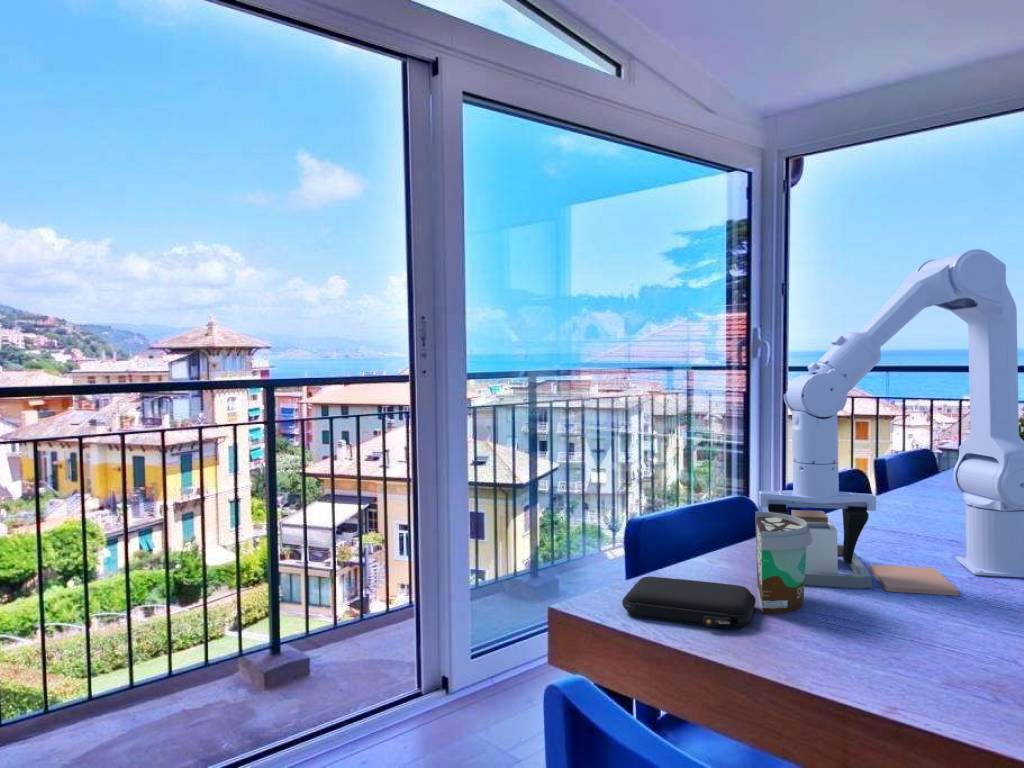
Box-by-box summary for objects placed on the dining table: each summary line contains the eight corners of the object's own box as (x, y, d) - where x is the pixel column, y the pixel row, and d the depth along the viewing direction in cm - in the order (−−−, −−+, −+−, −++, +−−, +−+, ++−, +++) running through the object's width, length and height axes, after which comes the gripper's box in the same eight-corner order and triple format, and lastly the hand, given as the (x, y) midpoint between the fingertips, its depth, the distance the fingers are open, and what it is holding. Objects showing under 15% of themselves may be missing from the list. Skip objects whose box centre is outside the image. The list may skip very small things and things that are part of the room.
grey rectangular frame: (848, 554, 104) (848, 544, 104) (872, 589, 88) (872, 577, 88) (764, 550, 108) (764, 540, 108) (773, 583, 91) (773, 572, 91)
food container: (821, 622, 77) (819, 534, 77) (763, 618, 79) (761, 532, 79) (806, 588, 89) (805, 512, 89) (756, 585, 91) (755, 510, 91)
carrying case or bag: (615, 623, 80) (748, 640, 74) (615, 597, 80) (748, 612, 74) (638, 594, 90) (757, 608, 83) (637, 571, 89) (756, 583, 83)
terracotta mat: (934, 572, 94) (934, 567, 94) (958, 595, 85) (958, 590, 85) (870, 568, 97) (870, 564, 97) (886, 591, 87) (886, 586, 87)
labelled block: (832, 572, 95) (831, 521, 95) (838, 582, 91) (837, 528, 91) (797, 570, 97) (796, 520, 97) (801, 580, 92) (800, 527, 92)
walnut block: (824, 557, 103) (823, 511, 103) (828, 565, 99) (827, 517, 99) (792, 555, 104) (791, 510, 104) (795, 563, 100) (794, 516, 100)
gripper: (867, 458, 95) (869, 555, 96) (757, 457, 100) (759, 549, 100) (879, 465, 89) (880, 569, 89) (760, 463, 93) (762, 563, 93)
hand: (816, 560), depth 94 cm, fingers open, 7 cm apart
